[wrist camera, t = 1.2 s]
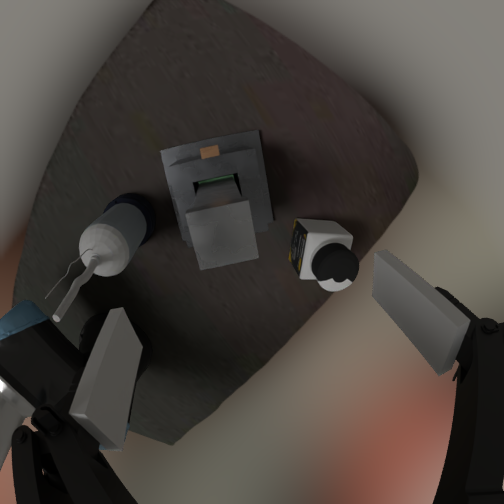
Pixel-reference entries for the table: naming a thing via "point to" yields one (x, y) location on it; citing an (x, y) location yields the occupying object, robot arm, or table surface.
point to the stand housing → (219, 174)
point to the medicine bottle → (323, 253)
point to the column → (221, 224)
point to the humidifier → (111, 242)
